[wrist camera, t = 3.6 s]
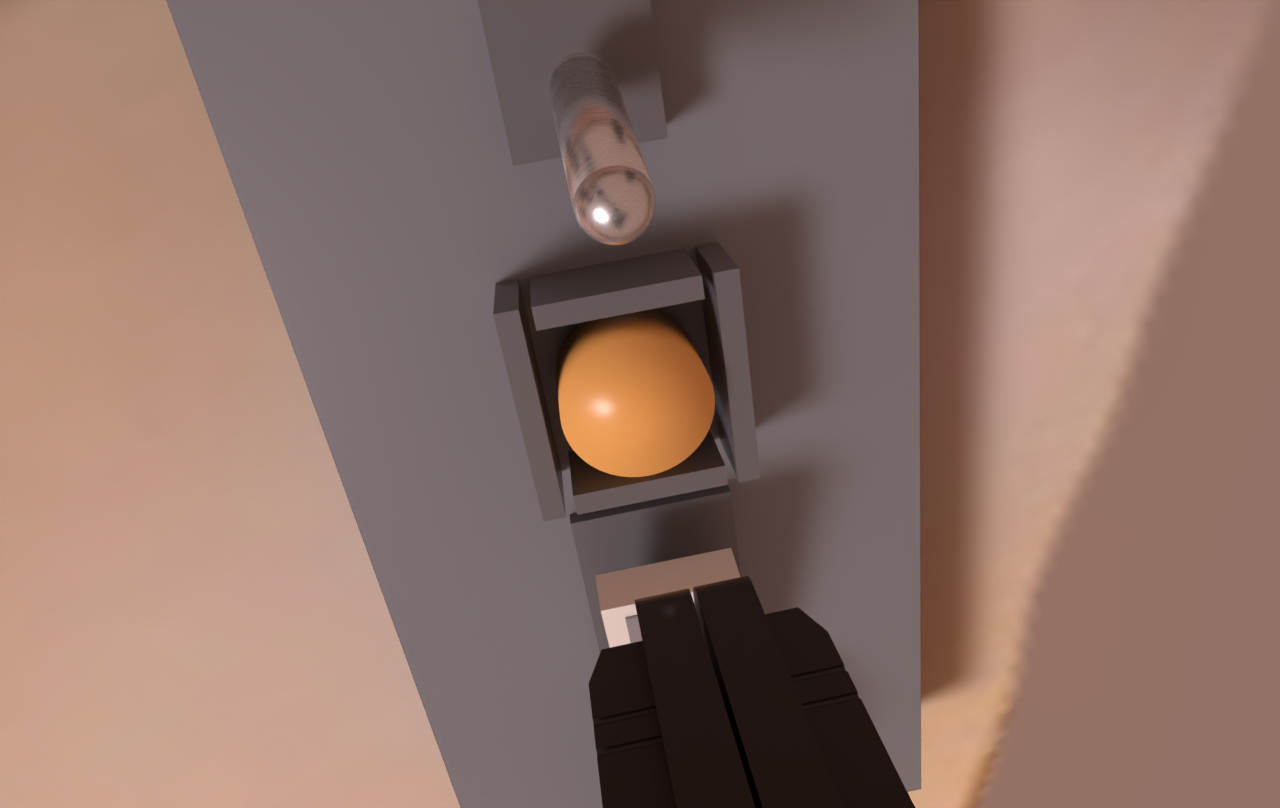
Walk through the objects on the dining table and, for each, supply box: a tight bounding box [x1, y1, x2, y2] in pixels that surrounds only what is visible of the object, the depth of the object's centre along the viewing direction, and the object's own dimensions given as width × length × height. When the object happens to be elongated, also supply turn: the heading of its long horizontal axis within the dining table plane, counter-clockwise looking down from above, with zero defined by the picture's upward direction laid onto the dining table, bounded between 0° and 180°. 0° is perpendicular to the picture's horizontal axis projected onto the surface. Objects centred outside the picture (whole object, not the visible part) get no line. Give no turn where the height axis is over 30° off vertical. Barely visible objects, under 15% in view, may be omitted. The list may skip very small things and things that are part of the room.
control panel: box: [166, 0, 921, 808], centre depth 21 cm, size 27×14×5 cm, turn 9°
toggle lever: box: [548, 53, 656, 246], centre depth 13 cm, size 1×1×5 cm
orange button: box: [556, 309, 715, 477], centre depth 18 cm, size 3×3×2 cm
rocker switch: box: [595, 548, 740, 648], centre depth 21 cm, size 5×3×1 cm
